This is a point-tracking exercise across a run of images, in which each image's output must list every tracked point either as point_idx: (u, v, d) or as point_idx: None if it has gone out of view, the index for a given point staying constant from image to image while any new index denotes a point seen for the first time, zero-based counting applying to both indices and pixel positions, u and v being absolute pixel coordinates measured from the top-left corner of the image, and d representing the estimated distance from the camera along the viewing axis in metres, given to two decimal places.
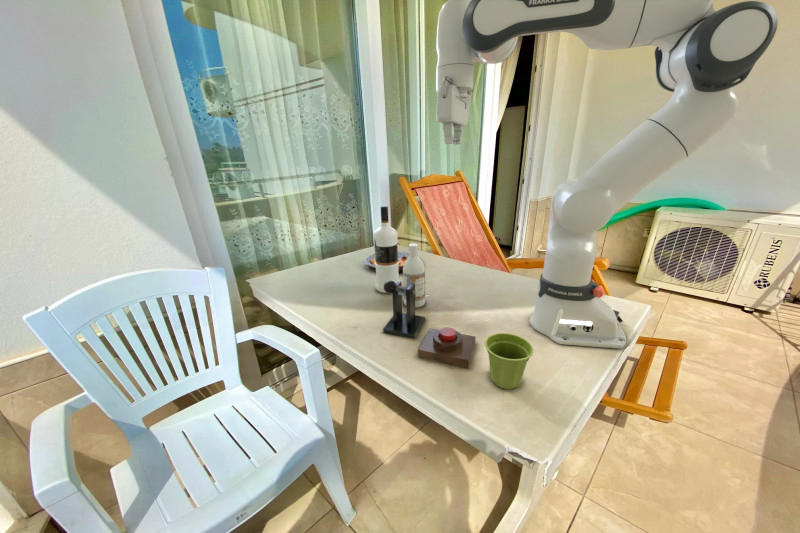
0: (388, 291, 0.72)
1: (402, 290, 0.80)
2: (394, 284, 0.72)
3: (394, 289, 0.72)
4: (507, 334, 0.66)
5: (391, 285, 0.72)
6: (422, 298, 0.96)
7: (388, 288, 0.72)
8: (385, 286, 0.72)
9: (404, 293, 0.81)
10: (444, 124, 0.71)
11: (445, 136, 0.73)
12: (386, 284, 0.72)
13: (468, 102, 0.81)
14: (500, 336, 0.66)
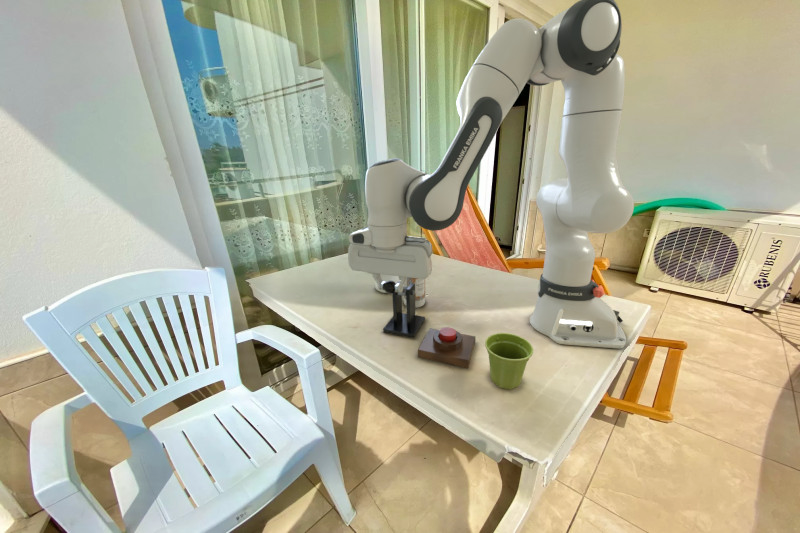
0: (388, 291, 0.72)
1: None
2: (394, 284, 0.72)
3: (394, 289, 0.72)
4: (507, 334, 0.66)
5: (391, 285, 0.72)
6: (422, 298, 0.96)
7: (388, 288, 0.72)
8: (385, 286, 0.72)
9: (404, 293, 0.81)
10: (404, 277, 0.70)
11: (400, 286, 0.71)
12: (386, 284, 0.72)
13: None
14: (500, 336, 0.66)
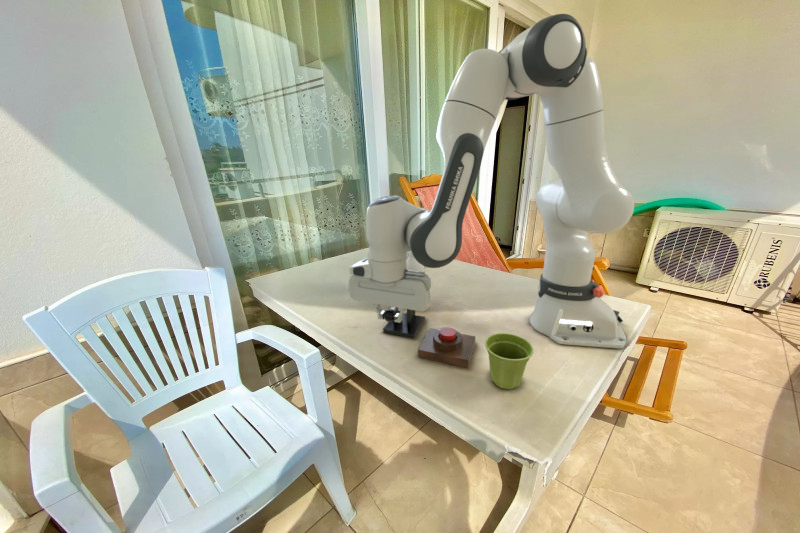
0: (389, 321, 0.75)
1: None
2: (393, 315, 0.73)
3: (394, 319, 0.74)
4: (507, 334, 0.66)
5: (390, 318, 0.73)
6: None
7: (388, 320, 0.74)
8: (385, 319, 0.74)
9: None
10: None
11: (400, 316, 0.73)
12: (385, 317, 0.74)
13: None
14: (500, 336, 0.66)
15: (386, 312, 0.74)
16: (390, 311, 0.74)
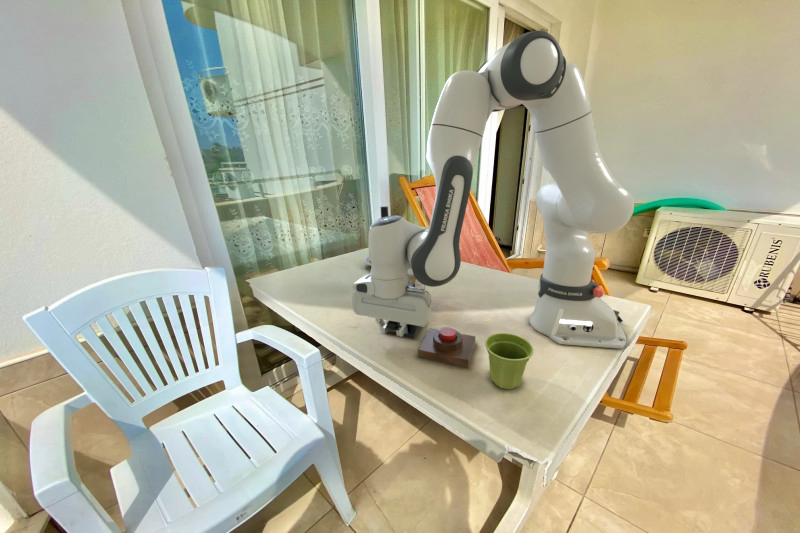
0: None
1: None
2: (396, 326, 0.76)
3: (397, 328, 0.77)
4: (507, 334, 0.66)
5: (394, 329, 0.76)
6: None
7: (392, 330, 0.77)
8: (389, 329, 0.77)
9: None
10: (405, 323, 0.74)
11: (402, 331, 0.75)
12: (389, 329, 0.77)
13: None
14: (500, 336, 0.66)
15: (389, 324, 0.76)
16: (393, 323, 0.76)
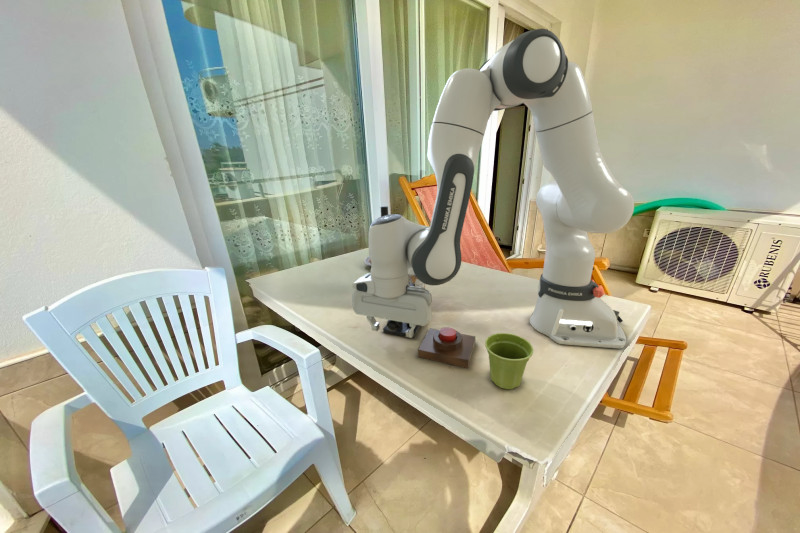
0: None
1: None
2: (395, 326, 0.76)
3: (397, 328, 0.77)
4: (507, 334, 0.66)
5: (393, 329, 0.76)
6: None
7: (392, 330, 0.77)
8: None
9: None
10: (415, 323, 0.73)
11: (411, 332, 0.74)
12: (389, 328, 0.77)
13: None
14: (500, 336, 0.66)
15: (389, 324, 0.76)
16: (392, 323, 0.76)
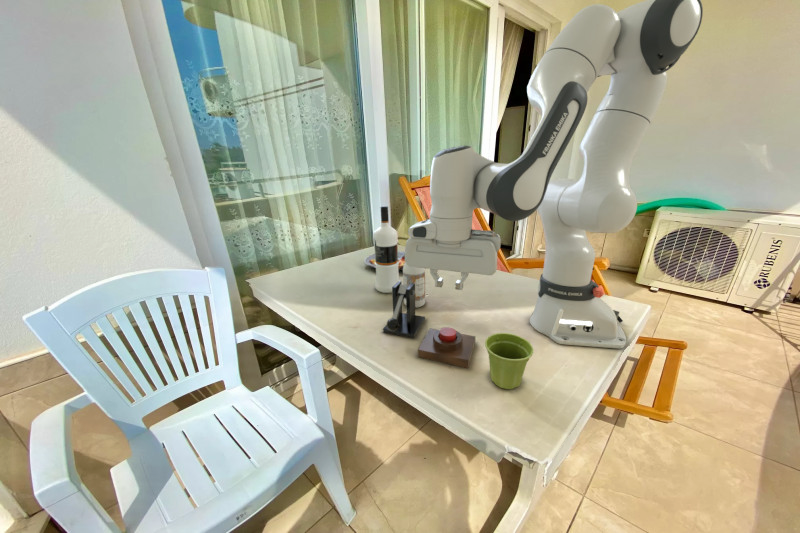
0: None
1: (403, 299, 0.81)
2: (395, 326, 0.76)
3: (397, 328, 0.77)
4: (507, 334, 0.66)
5: (393, 329, 0.76)
6: (422, 298, 0.96)
7: (392, 330, 0.77)
8: None
9: (405, 297, 0.82)
10: (467, 273, 0.66)
11: None
12: (389, 328, 0.77)
13: None
14: (500, 336, 0.66)
15: (389, 324, 0.76)
16: (392, 323, 0.76)
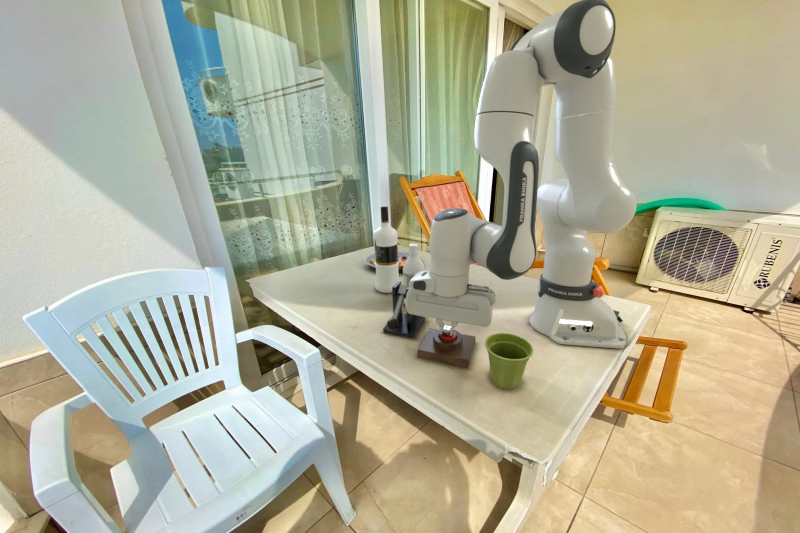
0: None
1: (403, 299, 0.81)
2: (395, 326, 0.76)
3: (397, 328, 0.77)
4: (507, 334, 0.66)
5: (393, 329, 0.76)
6: None
7: (392, 330, 0.77)
8: None
9: (405, 297, 0.82)
10: (457, 321, 0.71)
11: (452, 330, 0.72)
12: (389, 328, 0.77)
13: None
14: (500, 336, 0.66)
15: (389, 324, 0.76)
16: (392, 323, 0.76)
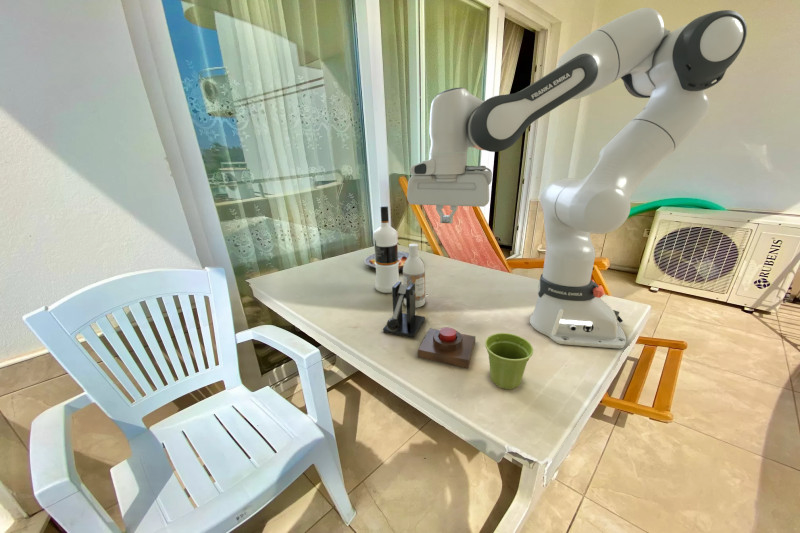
0: None
1: (403, 299, 0.81)
2: (395, 326, 0.76)
3: (397, 328, 0.77)
4: (507, 334, 0.66)
5: (393, 329, 0.76)
6: (422, 298, 0.96)
7: (392, 330, 0.77)
8: None
9: (405, 297, 0.82)
10: (456, 206, 0.75)
11: (451, 217, 0.76)
12: (389, 328, 0.77)
13: None
14: (500, 336, 0.66)
15: (389, 324, 0.76)
16: (392, 323, 0.76)
